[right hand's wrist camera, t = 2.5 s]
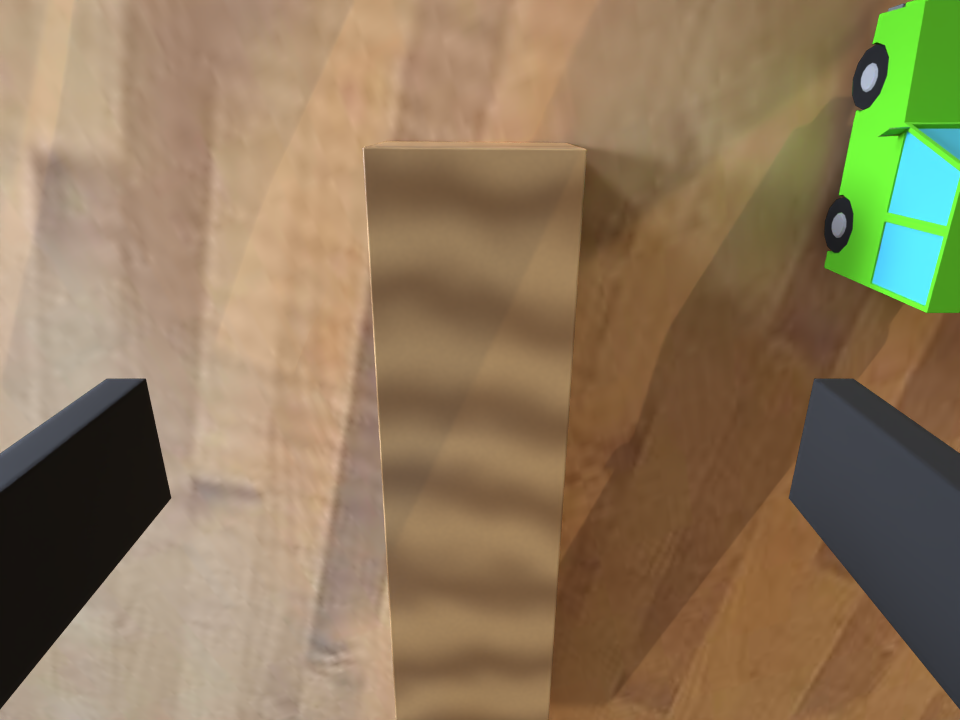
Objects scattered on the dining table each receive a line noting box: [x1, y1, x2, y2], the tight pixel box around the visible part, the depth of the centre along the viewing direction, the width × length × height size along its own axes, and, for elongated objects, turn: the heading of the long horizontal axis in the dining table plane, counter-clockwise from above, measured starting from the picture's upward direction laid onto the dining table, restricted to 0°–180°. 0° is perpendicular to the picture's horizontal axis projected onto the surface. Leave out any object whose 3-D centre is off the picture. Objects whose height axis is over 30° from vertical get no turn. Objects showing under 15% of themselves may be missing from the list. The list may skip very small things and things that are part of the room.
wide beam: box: [363, 141, 587, 720], centre depth 44 cm, size 72×10×7 cm, turn 179°
